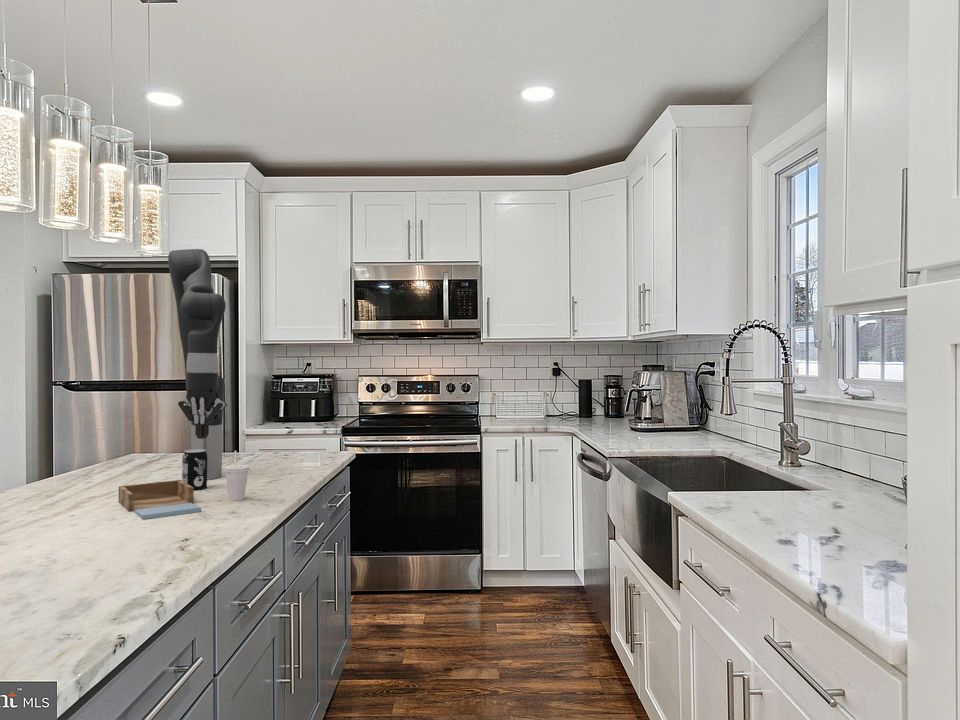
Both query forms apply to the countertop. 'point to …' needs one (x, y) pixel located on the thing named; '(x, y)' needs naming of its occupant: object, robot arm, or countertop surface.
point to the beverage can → (195, 468)
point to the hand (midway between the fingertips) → (202, 438)
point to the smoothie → (236, 480)
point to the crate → (155, 494)
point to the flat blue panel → (167, 510)
